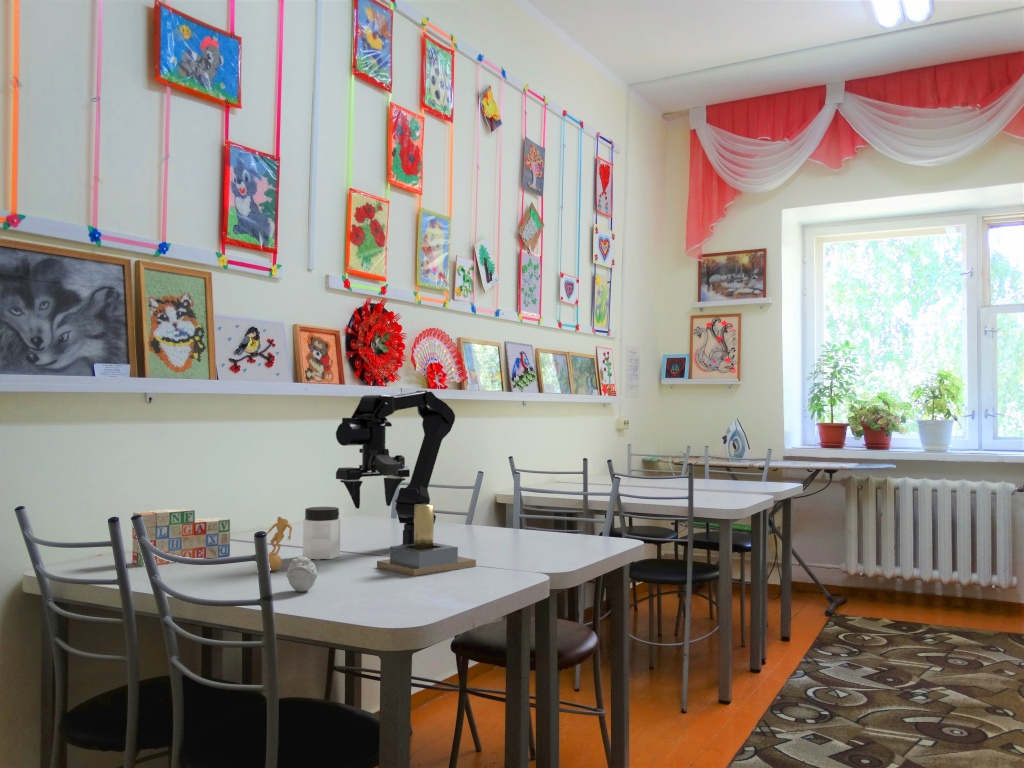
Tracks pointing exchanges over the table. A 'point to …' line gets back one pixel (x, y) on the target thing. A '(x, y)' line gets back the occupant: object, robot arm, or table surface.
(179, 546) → the stack of blocks
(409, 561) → the jig
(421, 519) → the cylinder
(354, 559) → the table surface
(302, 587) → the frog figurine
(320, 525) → the jar
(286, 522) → the figurine
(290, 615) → the table surface
